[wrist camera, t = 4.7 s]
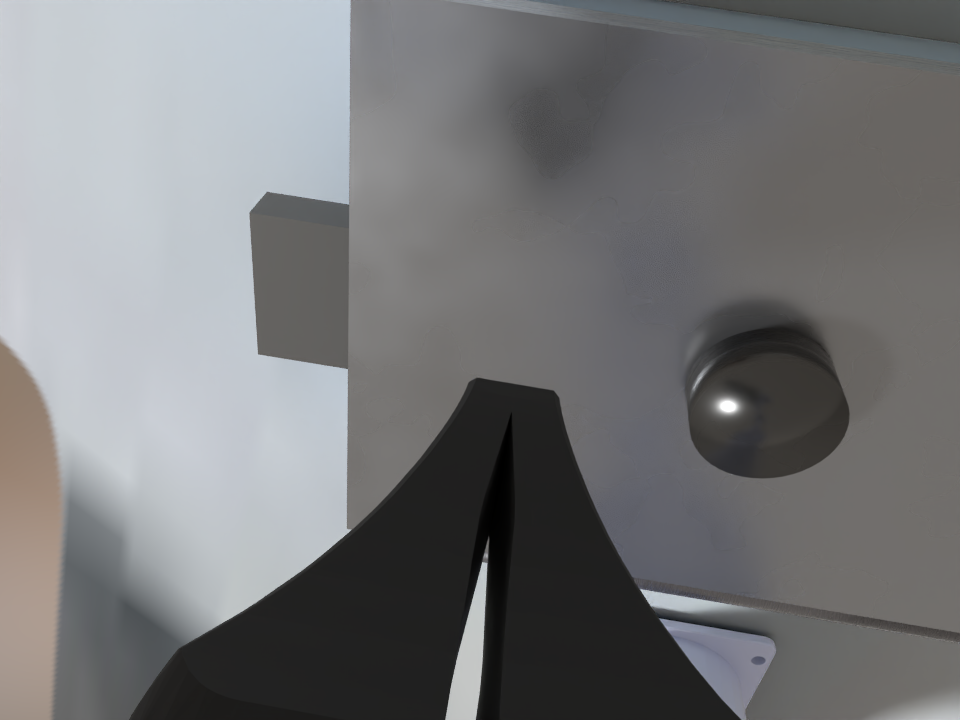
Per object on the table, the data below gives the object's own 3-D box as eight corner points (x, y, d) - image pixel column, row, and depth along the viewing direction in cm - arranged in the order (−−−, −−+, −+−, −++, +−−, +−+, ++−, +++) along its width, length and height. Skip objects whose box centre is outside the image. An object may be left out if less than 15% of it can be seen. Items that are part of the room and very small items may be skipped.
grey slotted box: (1033, 532, 26) (1095, 637, 23) (305, 411, 27) (264, 496, 24) (1354, 101, 18) (1524, 167, 15) (295, -53, 19) (230, -22, 15)
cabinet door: (993, 632, 23) (1023, 697, 21) (353, 523, 24) (335, 579, 22) (1423, 131, 14) (1529, 180, 12) (362, -24, 14) (332, 4, 13)
